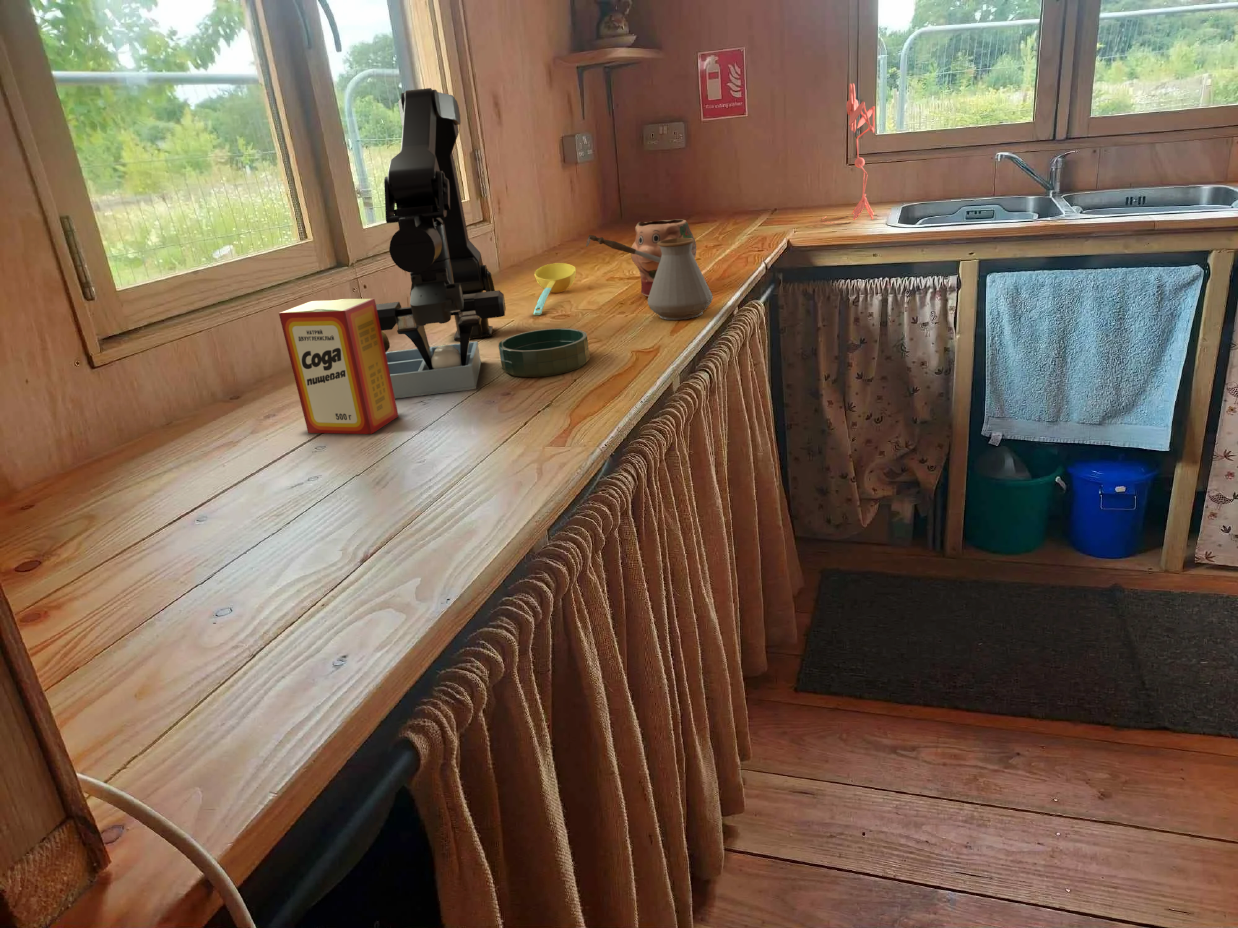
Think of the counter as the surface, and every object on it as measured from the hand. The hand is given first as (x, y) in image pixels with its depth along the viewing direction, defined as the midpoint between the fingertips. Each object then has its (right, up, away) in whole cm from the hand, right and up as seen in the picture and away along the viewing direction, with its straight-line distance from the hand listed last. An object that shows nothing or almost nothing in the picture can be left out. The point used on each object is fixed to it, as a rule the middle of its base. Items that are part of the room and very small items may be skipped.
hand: (448, 369), depth 126 cm
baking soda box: (-10, -9, -12) cm, 18 cm away
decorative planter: (+35, +21, +48) cm, 63 cm away
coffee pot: (+31, +12, +29) cm, 44 cm away
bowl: (+14, +1, +6) cm, 15 cm away
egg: (0, -1, 0) cm, 1 cm away
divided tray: (-4, -1, +4) cm, 5 cm away
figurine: (+89, +55, +119) cm, 158 cm away
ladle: (+11, +19, +51) cm, 56 cm away
